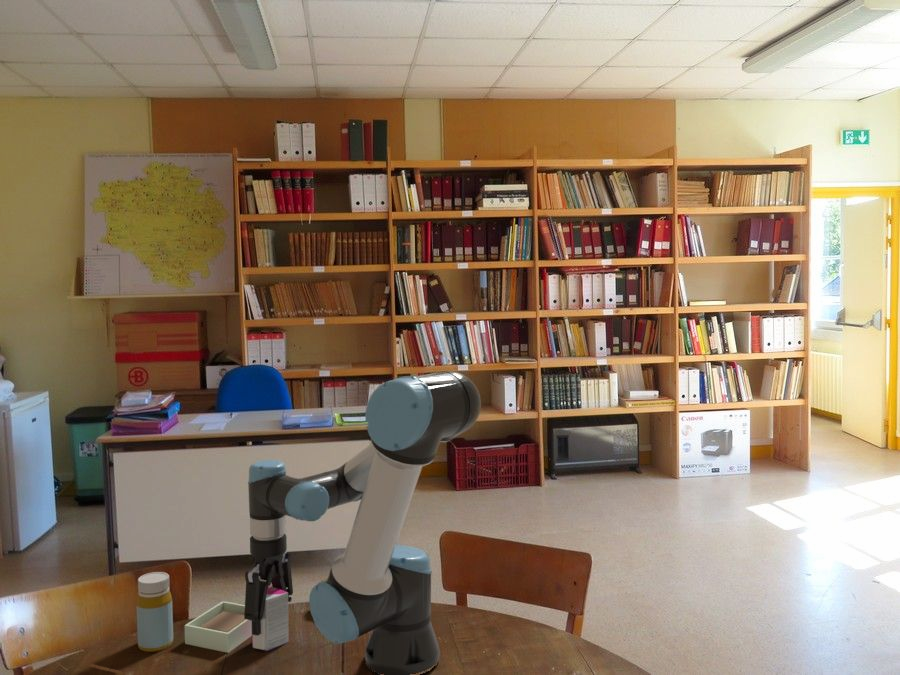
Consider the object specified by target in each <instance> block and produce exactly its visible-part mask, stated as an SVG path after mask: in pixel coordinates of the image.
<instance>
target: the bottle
mask: <svg viewBox="0 0 900 675" xmlns="http://www.w3.org/2000/svg"><path fill="white" fill-rule="evenodd" d="M137 589H138V591H137V592H138V596H137V599H136V626H137V627H136V628H137V629H136V630H137V646H138V649H139V650H141V651H143V652H148V653H150V652H151V653H152V652H158V651H163V650H165V649H167V648H169V647H171V645H172V644H173V642H174V620H173V619H174V617H173V616H174V615H173V614H174V613H173V596H172V593H171V591H170V575H169V574H168V573H167V572H165V571H154V572H153V571H152V572H148V573H145V574H142V575H141V576H140V577H138V578H137Z"/></svg>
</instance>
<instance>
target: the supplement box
mask: <svg viewBox="0 0 900 675" xmlns="http://www.w3.org/2000/svg"><path fill="white" fill-rule="evenodd" d="M263 618H265V628H266V649H264V650H263V651H264V652H269V651H271V650H274V649H277V648H279V647H281V646H283V645H286V644H288V643H289V602H288V592H285V591H283V590H281V589H279V588H276V587H273V586H272V585H270V586H268V591H267V596H266V599H265V607H264V612H263ZM251 644H252V645H253V635H252V636H251Z"/></svg>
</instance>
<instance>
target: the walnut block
mask: <svg viewBox="0 0 900 675" xmlns="http://www.w3.org/2000/svg"><path fill="white" fill-rule="evenodd" d="M245 620H246V619H244V615H241V614H235V613H230V612H225V611H223V612H222V613H220V614H218V615H217V616H215V617H214V618H212V619H211V620H209V621H208V622H206V623H205V624H203V625H202V626H200V627H202V628H207V629H212V630H217V631H222V632H227V633H228V632H229V631H230V630H232V629H233V628H235V627H236V626H238V625H239V624H240V623H242V622H243V621H245Z"/></svg>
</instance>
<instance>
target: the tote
mask: <svg viewBox="0 0 900 675" xmlns="http://www.w3.org/2000/svg"><path fill="white" fill-rule="evenodd" d="M223 611H225V612H230V613H235V614H241V615H244V612H245V604H240V603H235V602H230V601H226V600H225V601H220V602H219V603H218V604H215V605H214V606H212V608H210V609H208V610H207V611H205V612H203V613H202V614H199V615H198V616H197V617H195V618H193V619H192V620H191V621H189V622H187V623H186V624H185V625H184V644H185V645H188V646H195V647H199V648H203V649H207V650H214V651H218V652H223V653H230V652H231V651H233V650H235V649H236V648H237V647H238V646H240V645H241V644H243V643H244V642H245V641H246V640H248V639H249V638H252V621H251V620H247V619H246V620H245V621H243V622H242V623H240V624H239V625H238V626H236V627H235V628H233V629H232V630H230V631H229V632H228V633H227V632H222V631H217V630H212V629H207V628H202V627H200V626H202V625H203V624H205V623H206V622H208V621H209V620H211V619H212V618H214V617H215V616H217V615H218V614H220V613H222V612H223Z"/></svg>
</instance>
